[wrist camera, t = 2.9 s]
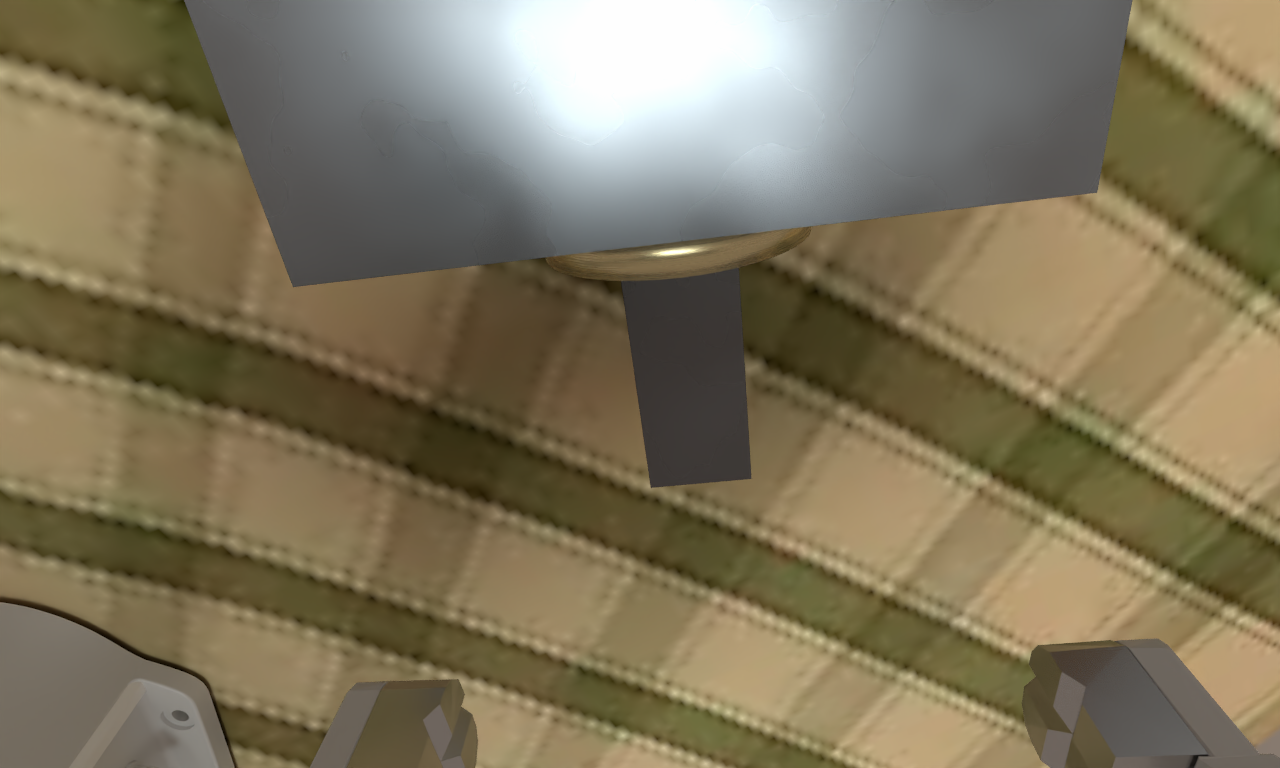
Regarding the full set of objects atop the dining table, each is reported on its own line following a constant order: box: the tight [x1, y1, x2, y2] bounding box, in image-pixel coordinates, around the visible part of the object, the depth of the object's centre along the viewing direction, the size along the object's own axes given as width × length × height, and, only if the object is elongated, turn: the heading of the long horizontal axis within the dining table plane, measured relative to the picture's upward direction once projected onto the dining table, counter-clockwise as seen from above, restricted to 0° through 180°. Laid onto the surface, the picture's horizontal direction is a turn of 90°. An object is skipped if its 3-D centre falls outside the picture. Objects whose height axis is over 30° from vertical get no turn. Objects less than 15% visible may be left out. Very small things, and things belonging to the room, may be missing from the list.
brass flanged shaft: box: [546, 226, 811, 488], centre depth 18 cm, size 15×7×7 cm, turn 7°
